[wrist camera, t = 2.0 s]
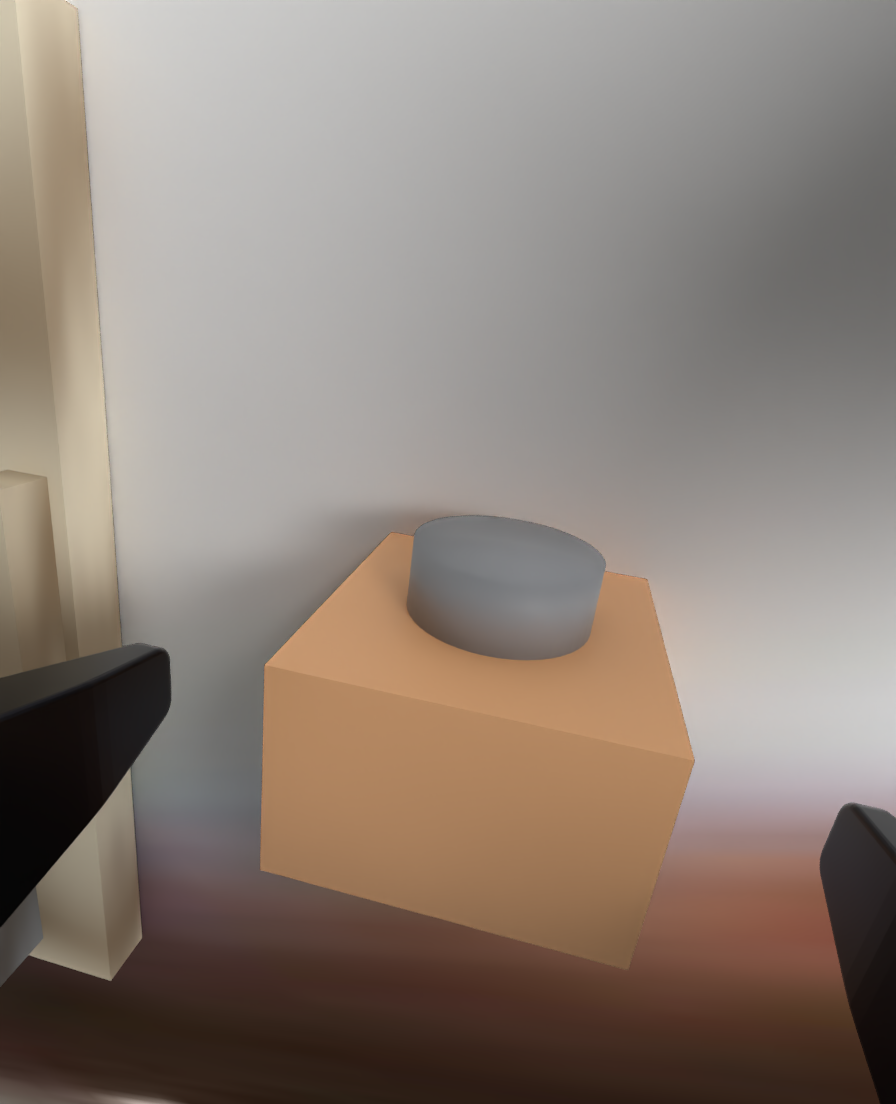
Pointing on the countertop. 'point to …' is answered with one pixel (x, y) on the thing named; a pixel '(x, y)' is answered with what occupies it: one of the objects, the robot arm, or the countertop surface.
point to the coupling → (480, 738)
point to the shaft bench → (56, 465)
